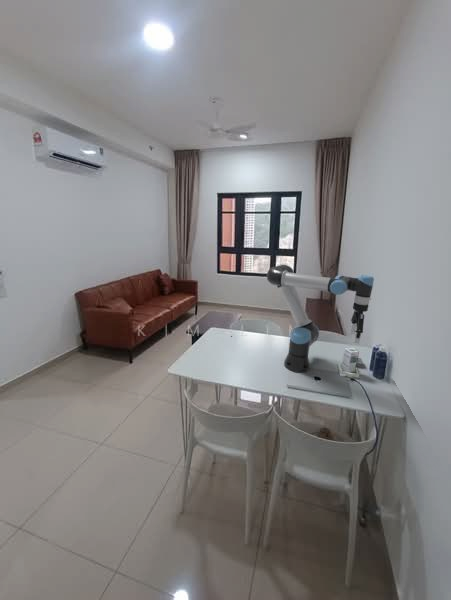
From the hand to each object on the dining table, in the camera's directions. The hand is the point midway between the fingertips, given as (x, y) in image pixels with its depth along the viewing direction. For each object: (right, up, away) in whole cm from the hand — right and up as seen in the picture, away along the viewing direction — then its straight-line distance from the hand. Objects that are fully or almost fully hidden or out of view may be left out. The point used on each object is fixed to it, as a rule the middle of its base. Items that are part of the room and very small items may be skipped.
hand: (354, 338), depth 156 cm
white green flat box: (-1, -21, +6) cm, 22 cm away
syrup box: (-1, -21, +6) cm, 22 cm away
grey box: (+8, -20, +14) cm, 25 cm away
